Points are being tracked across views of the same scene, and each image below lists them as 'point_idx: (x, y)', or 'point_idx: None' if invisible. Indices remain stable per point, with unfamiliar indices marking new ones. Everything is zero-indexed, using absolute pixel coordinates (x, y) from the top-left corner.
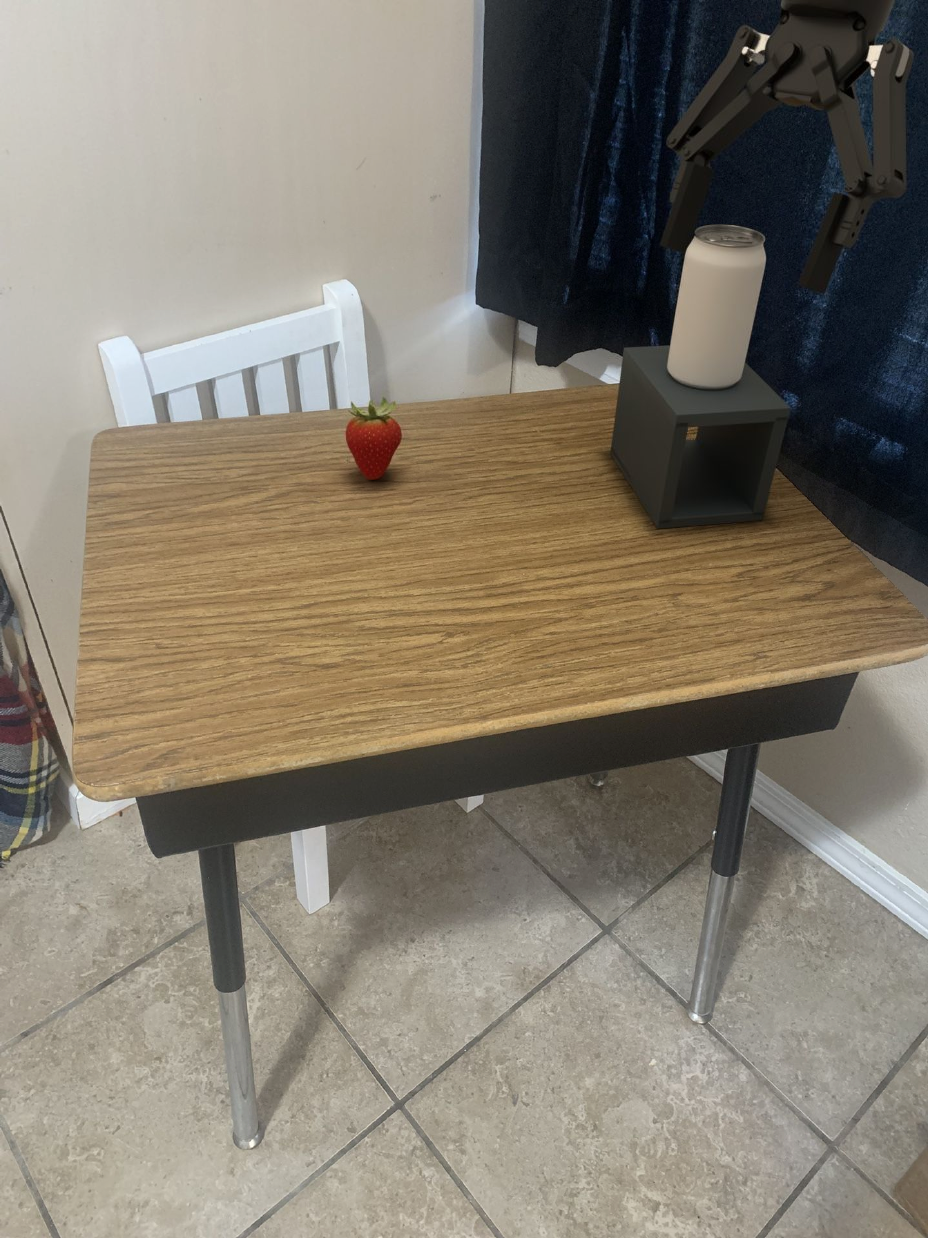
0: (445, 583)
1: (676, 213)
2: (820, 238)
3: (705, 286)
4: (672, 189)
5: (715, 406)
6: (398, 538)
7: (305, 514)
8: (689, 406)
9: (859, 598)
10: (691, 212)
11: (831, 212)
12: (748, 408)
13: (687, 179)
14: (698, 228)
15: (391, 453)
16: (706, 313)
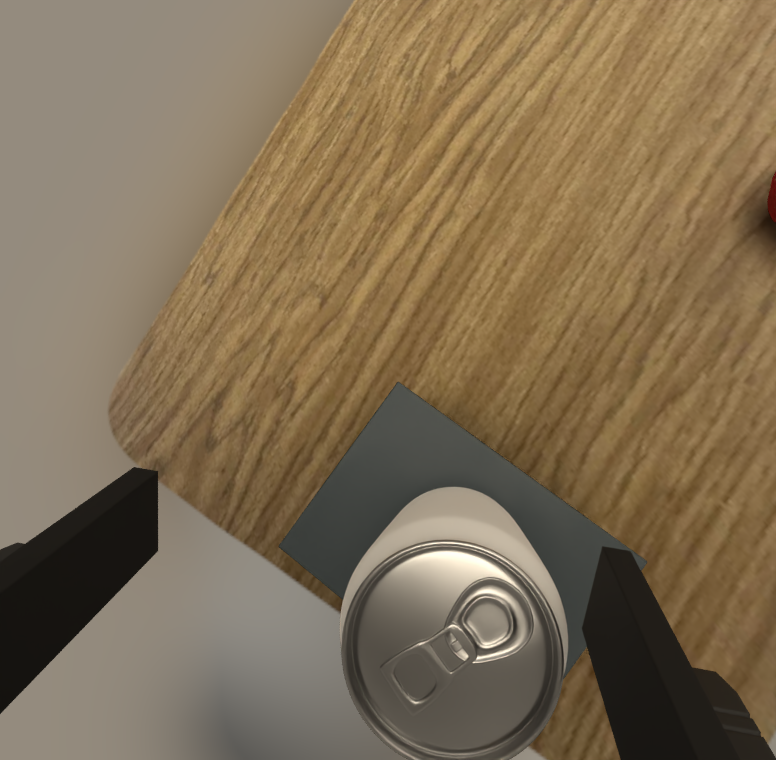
0: (520, 129)
1: (635, 610)
2: (68, 528)
3: (436, 508)
4: (744, 711)
5: (370, 457)
6: (631, 147)
7: (763, 94)
8: (400, 423)
9: (175, 443)
10: (618, 682)
11: (5, 573)
12: (326, 490)
13: (683, 707)
14: (558, 643)
15: (772, 199)
16: (426, 503)
